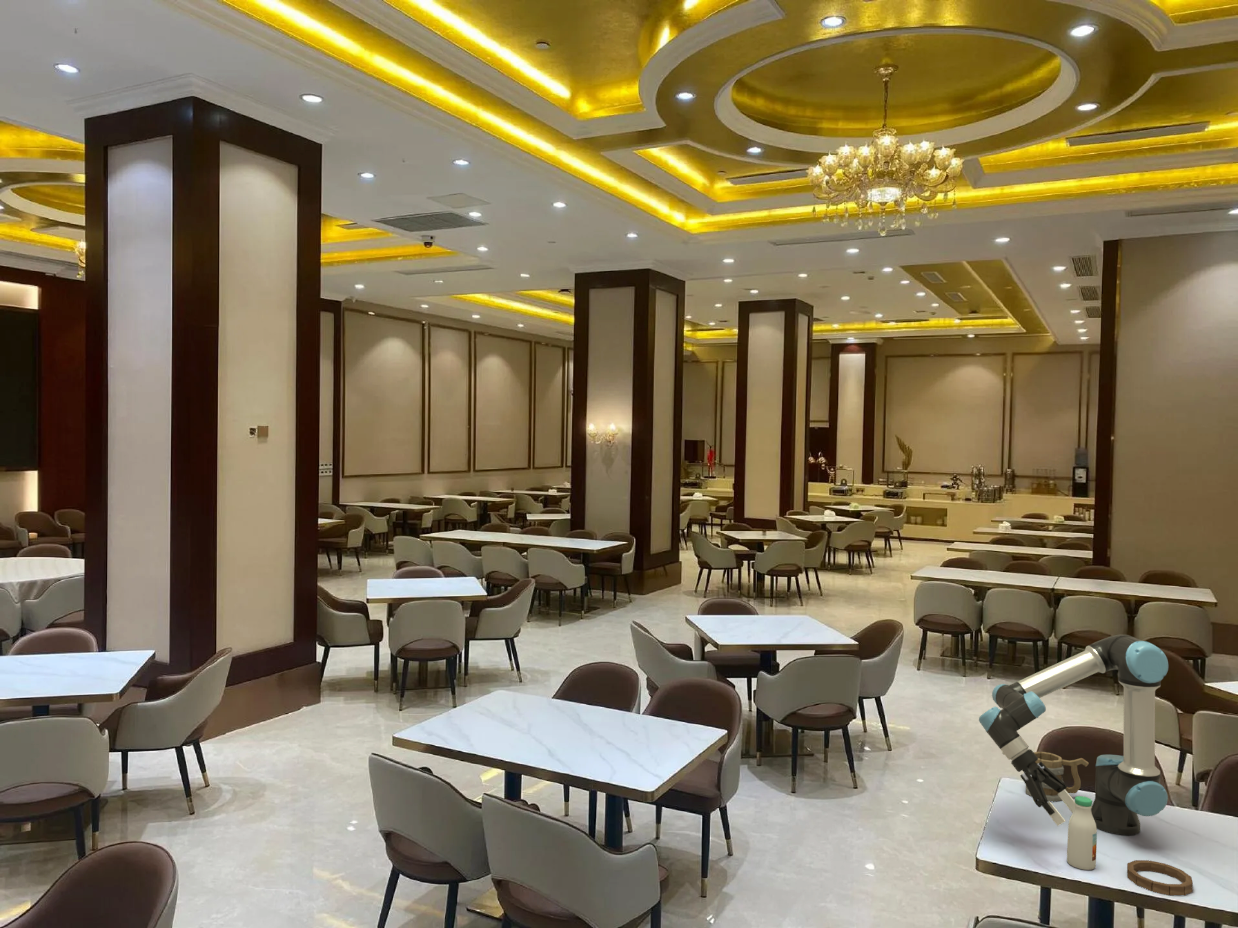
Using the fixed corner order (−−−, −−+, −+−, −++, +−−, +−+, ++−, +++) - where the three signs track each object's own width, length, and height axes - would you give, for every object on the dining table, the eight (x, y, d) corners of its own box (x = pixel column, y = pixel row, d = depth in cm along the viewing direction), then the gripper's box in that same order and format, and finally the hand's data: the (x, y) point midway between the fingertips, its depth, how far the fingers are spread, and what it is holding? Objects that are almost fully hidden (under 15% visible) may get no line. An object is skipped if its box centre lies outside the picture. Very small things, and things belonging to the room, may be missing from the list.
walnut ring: (1126, 863, 269) (1126, 855, 269) (1189, 876, 261) (1189, 868, 261) (1127, 885, 255) (1128, 877, 255) (1194, 900, 247) (1194, 891, 247)
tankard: (1025, 797, 319) (1027, 755, 319) (1025, 785, 331) (1026, 745, 331) (1088, 808, 311) (1090, 765, 311) (1086, 795, 323) (1087, 754, 322)
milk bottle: (1086, 872, 262) (1088, 805, 262) (1061, 862, 269) (1063, 796, 268) (1101, 866, 266) (1103, 800, 266) (1076, 856, 273) (1078, 791, 272)
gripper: (1025, 751, 290) (1072, 811, 280) (995, 770, 272) (1045, 834, 262) (1043, 739, 286) (1091, 799, 276) (1014, 757, 268) (1065, 822, 258)
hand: (1069, 817), depth 269 cm, fingers open, 13 cm apart
